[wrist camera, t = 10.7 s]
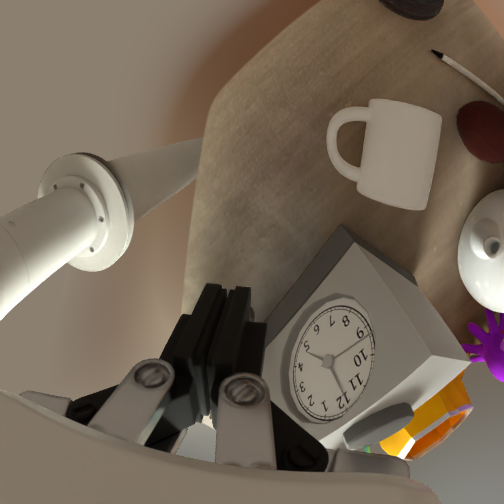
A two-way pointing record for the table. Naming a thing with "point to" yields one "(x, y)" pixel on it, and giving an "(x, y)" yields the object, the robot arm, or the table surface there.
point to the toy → (488, 344)
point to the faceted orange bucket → (430, 422)
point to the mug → (391, 151)
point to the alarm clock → (356, 346)
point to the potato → (482, 130)
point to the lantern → (415, 8)
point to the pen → (469, 75)
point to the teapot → (484, 252)
